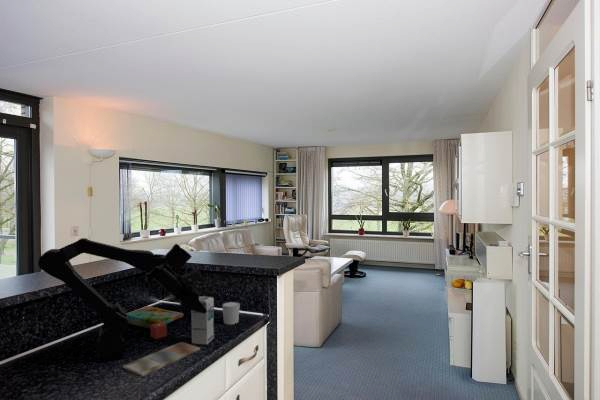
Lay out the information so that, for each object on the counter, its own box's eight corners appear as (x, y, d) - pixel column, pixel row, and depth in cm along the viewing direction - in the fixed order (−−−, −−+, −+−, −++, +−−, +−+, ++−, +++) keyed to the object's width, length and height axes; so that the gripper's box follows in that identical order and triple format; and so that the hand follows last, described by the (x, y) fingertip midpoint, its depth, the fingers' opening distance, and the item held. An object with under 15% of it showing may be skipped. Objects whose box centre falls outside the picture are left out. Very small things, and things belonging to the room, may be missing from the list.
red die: (155, 339, 126) (155, 327, 126) (150, 336, 129) (150, 324, 129) (166, 336, 129) (166, 324, 129) (161, 333, 132) (161, 321, 132)
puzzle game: (145, 304, 151) (183, 311, 143) (145, 315, 152) (183, 323, 143) (121, 312, 141) (160, 320, 132) (121, 324, 141) (160, 333, 132)
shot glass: (220, 320, 146) (220, 302, 146) (238, 318, 148) (238, 300, 148) (223, 325, 139) (223, 307, 139) (241, 323, 142) (241, 305, 142)
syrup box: (207, 344, 122) (207, 301, 121) (190, 343, 123) (191, 300, 122) (214, 338, 127) (214, 296, 127) (198, 337, 128) (198, 295, 128)
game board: (142, 376, 100) (142, 374, 100) (122, 367, 105) (122, 365, 105) (200, 349, 118) (200, 347, 118) (181, 343, 123) (181, 341, 123)
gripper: (192, 266, 114) (227, 297, 119) (182, 257, 131) (213, 284, 136) (166, 294, 110) (202, 324, 116) (159, 281, 127) (191, 308, 132)
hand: (203, 308), depth 125 cm, fingers closed on syrup box, 8 cm apart
